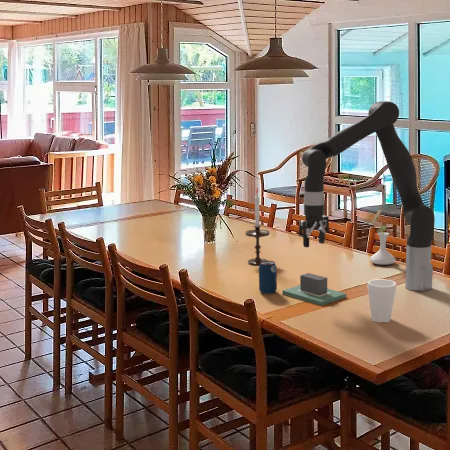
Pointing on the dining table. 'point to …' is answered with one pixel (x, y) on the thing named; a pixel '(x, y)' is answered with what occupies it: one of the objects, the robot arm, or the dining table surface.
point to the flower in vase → (382, 246)
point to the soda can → (267, 277)
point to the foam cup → (381, 299)
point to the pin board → (313, 298)
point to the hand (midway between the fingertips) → (314, 245)
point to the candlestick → (257, 234)
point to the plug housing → (313, 284)
